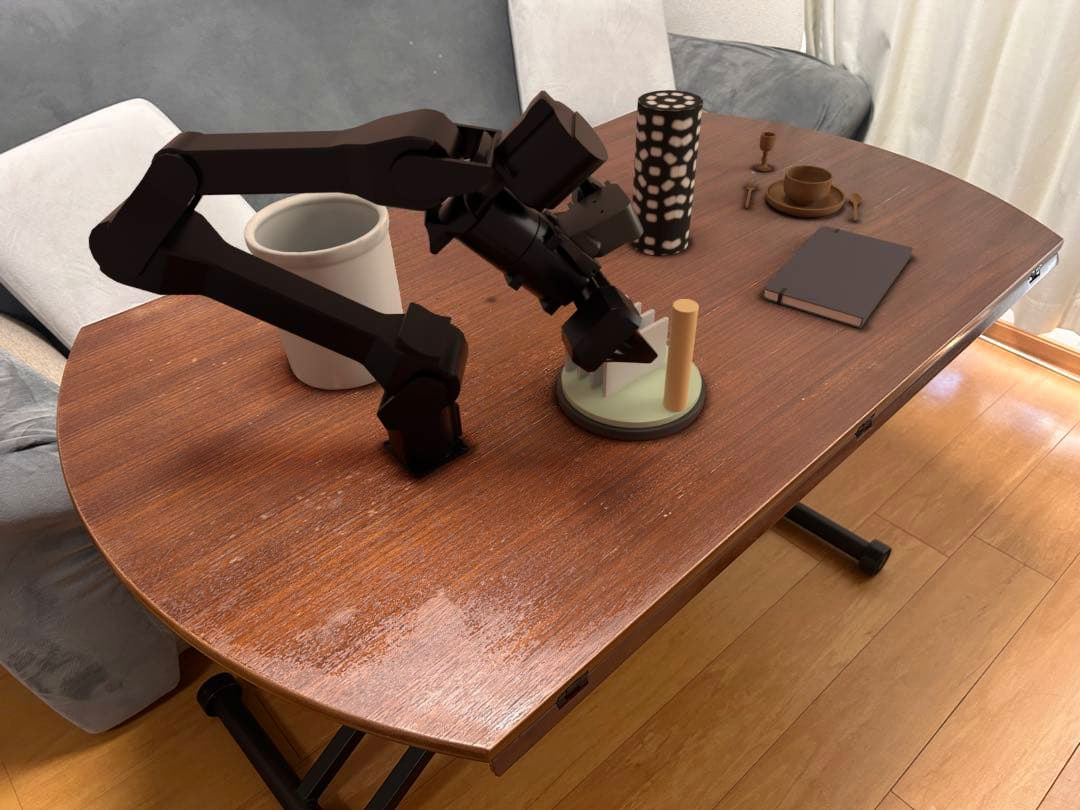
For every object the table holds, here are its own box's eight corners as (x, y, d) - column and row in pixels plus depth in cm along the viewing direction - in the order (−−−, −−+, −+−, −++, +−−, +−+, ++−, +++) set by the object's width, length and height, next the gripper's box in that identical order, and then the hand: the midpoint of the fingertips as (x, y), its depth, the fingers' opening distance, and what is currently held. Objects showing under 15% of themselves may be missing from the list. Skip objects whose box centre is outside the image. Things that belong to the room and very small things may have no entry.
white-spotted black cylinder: (621, 248, 108) (627, 105, 96) (642, 224, 114) (651, 87, 101) (676, 260, 105) (690, 114, 93) (696, 235, 111) (711, 94, 98)
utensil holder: (284, 405, 83) (240, 262, 71) (283, 333, 94) (244, 199, 83) (419, 381, 85) (396, 239, 74) (402, 313, 97) (379, 181, 85)
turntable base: (630, 463, 74) (630, 454, 73) (527, 388, 84) (527, 379, 83) (734, 395, 82) (736, 386, 81) (629, 334, 92) (630, 325, 91)
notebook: (860, 329, 91) (910, 257, 104) (863, 318, 90) (913, 247, 103) (760, 298, 97) (819, 234, 110) (762, 288, 96) (821, 224, 109)
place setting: (740, 214, 116) (746, 177, 112) (751, 164, 131) (757, 130, 127) (861, 226, 112) (871, 188, 108) (859, 173, 127) (867, 138, 123)
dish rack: (630, 449, 74) (638, 341, 66) (533, 379, 83) (529, 277, 75) (729, 386, 81) (747, 282, 73) (630, 328, 90) (636, 230, 82)
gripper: (620, 213, 52) (746, 323, 61) (553, 123, 66) (663, 223, 75) (514, 326, 56) (647, 415, 65) (472, 218, 70) (586, 303, 79)
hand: (636, 331), depth 71 cm, fingers open, 9 cm apart
